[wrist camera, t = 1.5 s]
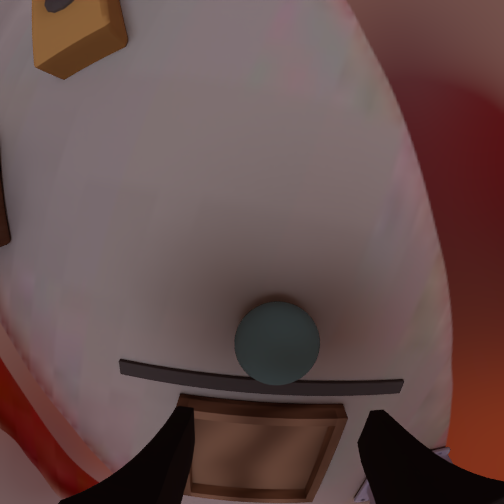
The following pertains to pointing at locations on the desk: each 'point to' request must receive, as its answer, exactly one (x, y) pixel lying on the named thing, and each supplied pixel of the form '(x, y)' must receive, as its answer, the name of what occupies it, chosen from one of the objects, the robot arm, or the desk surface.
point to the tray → (261, 449)
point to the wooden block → (3, 221)
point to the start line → (255, 386)
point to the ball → (277, 343)
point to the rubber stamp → (75, 34)
